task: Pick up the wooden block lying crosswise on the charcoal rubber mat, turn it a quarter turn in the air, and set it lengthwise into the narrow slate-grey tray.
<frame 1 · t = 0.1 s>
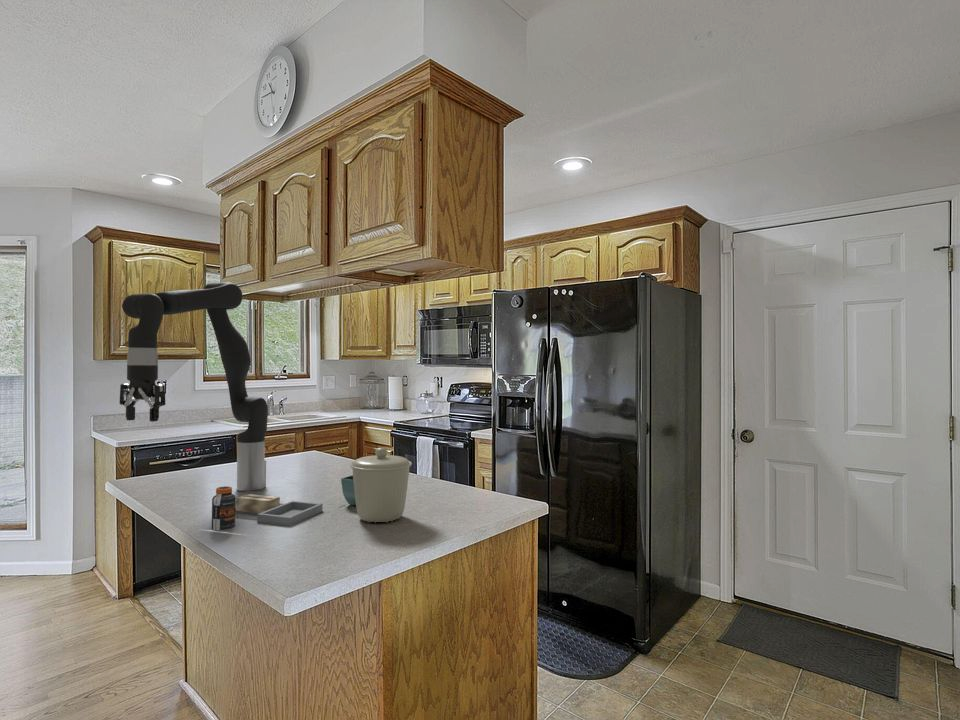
hand: (142, 420, 157), 29 cm above the countertop, tool pointing down, fingers open, 8 cm apart
rubber mat: (257, 511, 170), on the countertop
pill bottle: (223, 528, 153), on the countertop
canister: (380, 519, 164), on the countertop
wooden block: (257, 510, 170), resting on rubber mat
slate tray: (291, 517, 164), on the countertop
flower pot: (359, 505, 179), on the countertop
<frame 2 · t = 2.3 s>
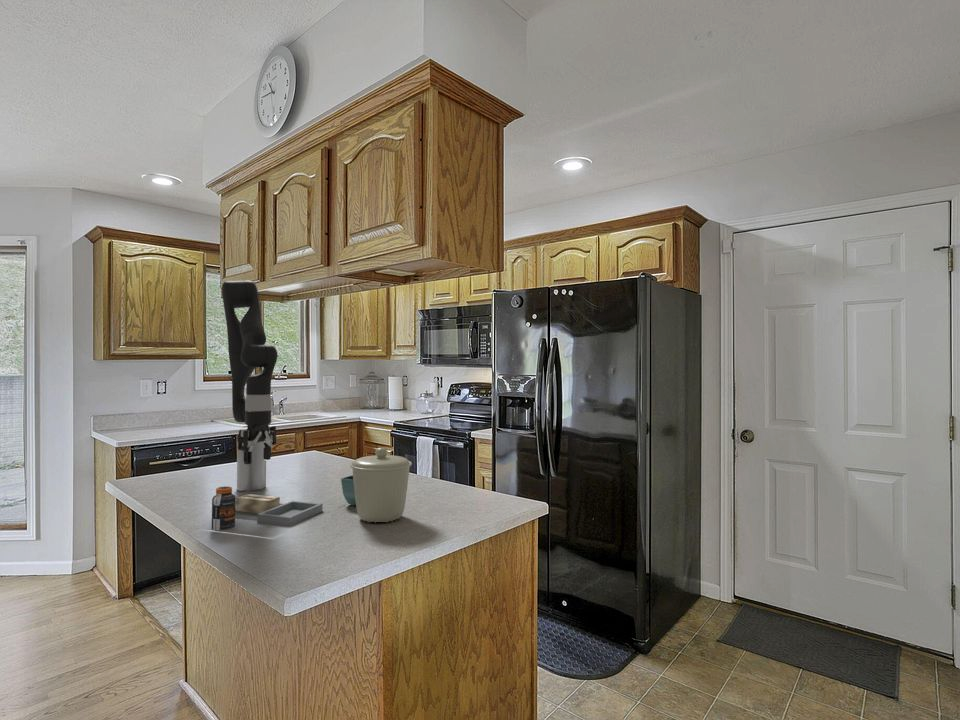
hand: (257, 461, 170), 15 cm above the countertop, tool pointing down, fingers open, 8 cm apart
nothing on the countertop moved.
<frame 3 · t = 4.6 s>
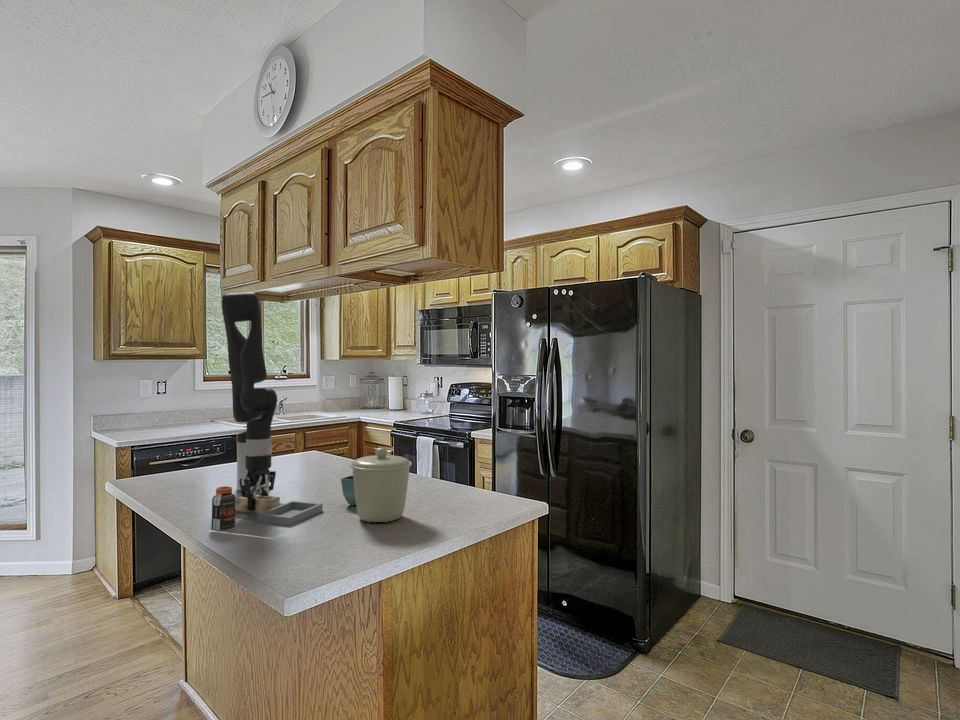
hand: (257, 507, 170), 1 cm above the countertop, tool pointing down, fingers closed on wooden block, 5 cm apart
wooden block: (257, 510, 170), resting on rubber mat, touching gripper
everything else where it was.
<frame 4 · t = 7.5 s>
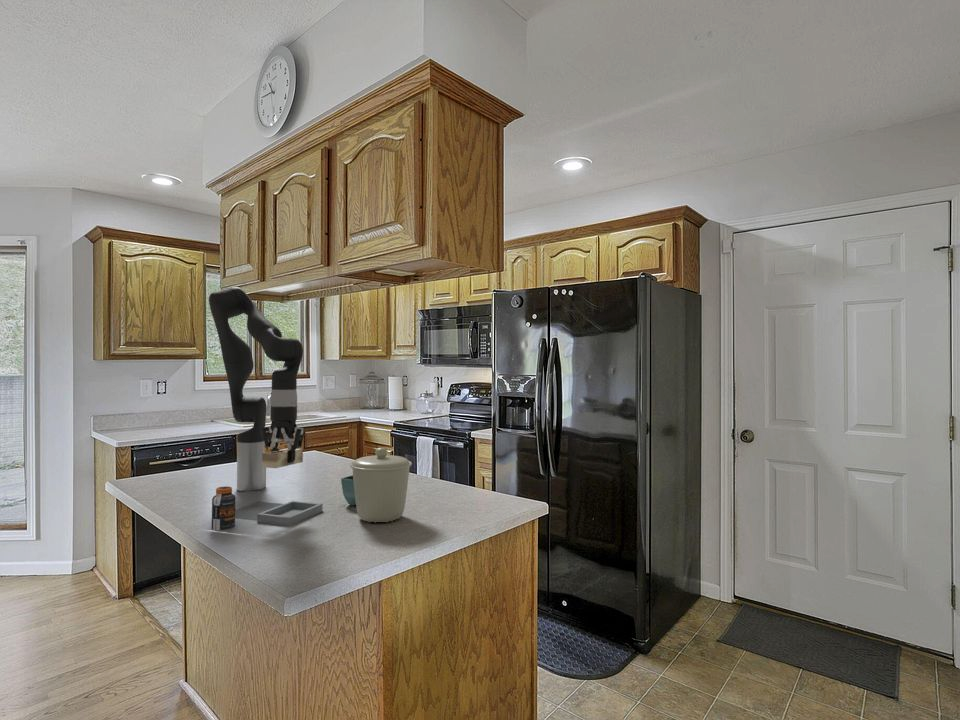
hand: (283, 461, 163), 17 cm above the countertop, tool pointing down, fingers closed on wooden block, 5 cm apart
wooden block: (282, 464, 163), point 16 cm above the countertop, touching gripper
everything else where it was.
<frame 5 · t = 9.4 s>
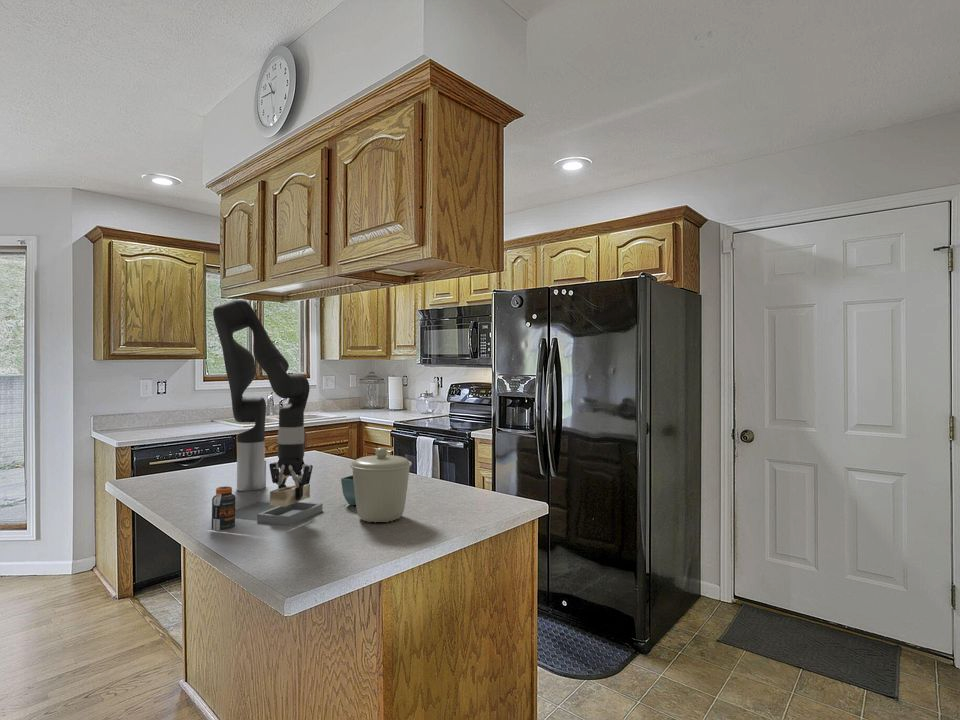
hand: (290, 498, 164), 6 cm above the countertop, tool pointing down, fingers closed on wooden block, 5 cm apart
wooden block: (290, 501, 163), point 5 cm above the countertop, touching gripper
everything else where it was.
when the fingers open (3 cm above the countertop, at t = 10.8 s): wooden block drops 2 cm, resting on slate tray.
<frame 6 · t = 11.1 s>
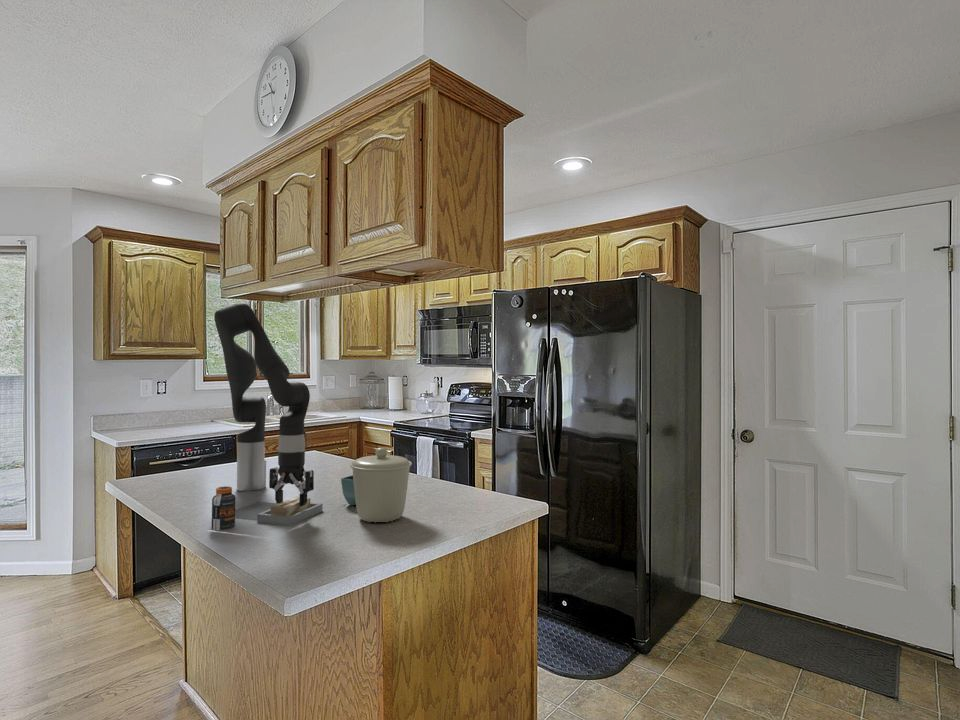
hand: (291, 504, 164), 4 cm above the countertop, tool pointing down, fingers open, 7 cm apart
wooden block: (291, 515, 164), point 1 cm above the countertop, touching slate tray
everything else where it was.
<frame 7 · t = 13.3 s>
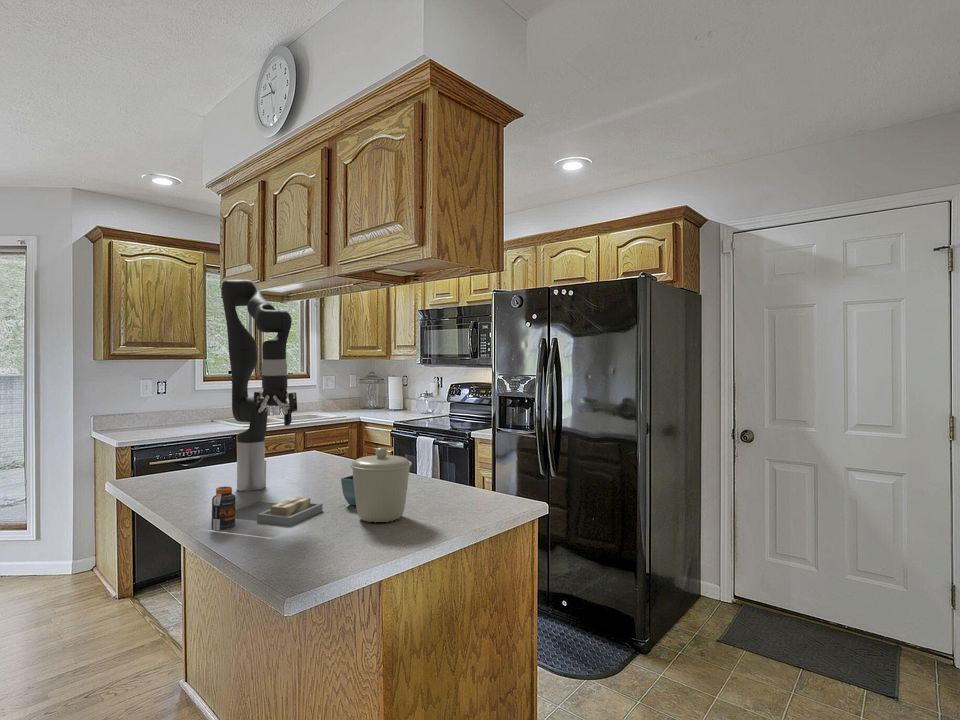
hand: (275, 424, 174), 26 cm above the countertop, tool pointing down, fingers open, 8 cm apart
nothing on the countertop moved.
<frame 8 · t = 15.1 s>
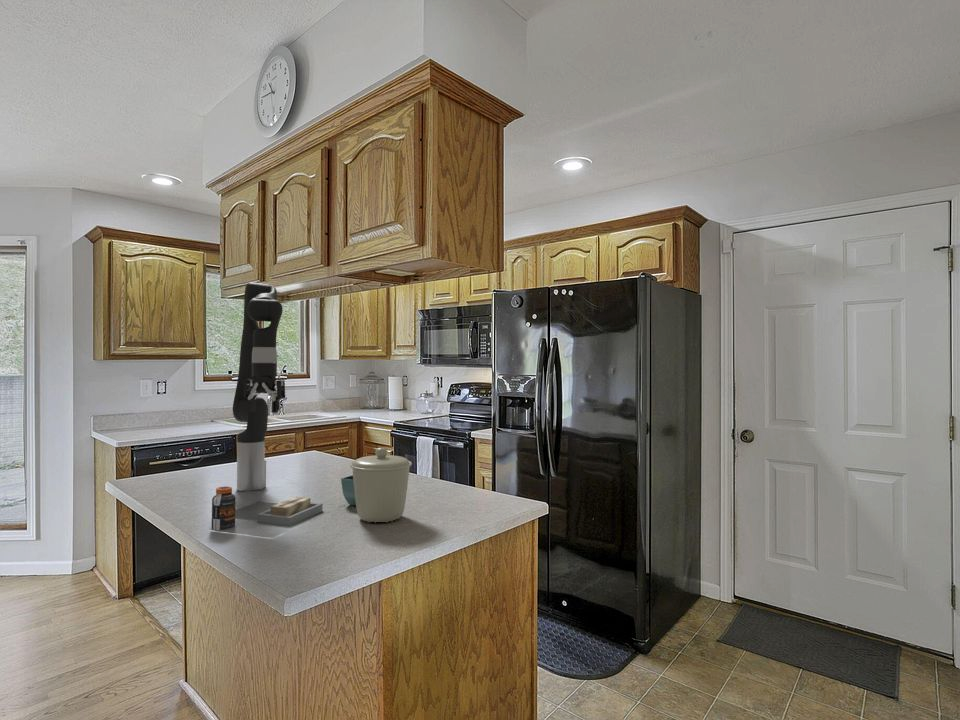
hand: (263, 412, 176), 30 cm above the countertop, tool pointing down, fingers open, 8 cm apart
nothing on the countertop moved.
at the end: wooden block 0.0 cm off-centre on the slate tray, point 0.6 cm above the slate tray's base; wooden block tilted 0°; the gripper is holding nothing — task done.
